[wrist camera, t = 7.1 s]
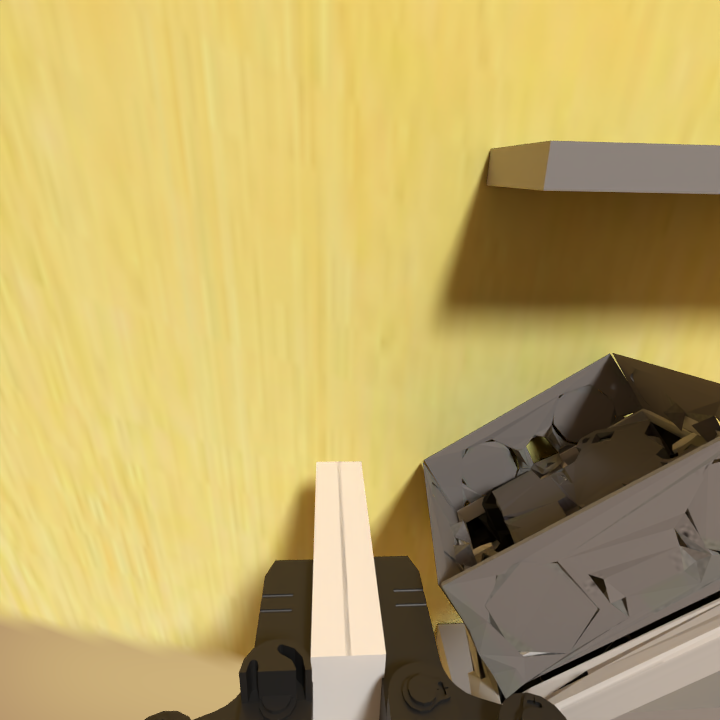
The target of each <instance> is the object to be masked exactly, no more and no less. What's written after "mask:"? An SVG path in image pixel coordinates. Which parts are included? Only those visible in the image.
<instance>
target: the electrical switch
mask: <svg viewBox="0 0 720 720" xmlns="http://www.w3.org/2000/svg"><path fill="white" fill-rule="evenodd" d="M613 355H614V357H615V359H616V361H617V362H618V364H619V366H620V368H621V370H622V372H623V373H624V375H625V376H624V375H623V373H622V372H621V370H620V369H619V367H618V365H617V364H616V362H615V361H614V359H613V358H612V356H611V355H610V354H608V355H607V356H605V357H603V358H601V359H600V360H598V361H596V362H594V363H593V364H591V365H589V366H587V367H586V368H584V369H582V370H580V371H579V372H577V373H575V374H573V375H572V376H570V377H568V378H566V379H565V380H563V381H561V382H559V383H558V384H556V385H554V386H552V387H551V388H549V389H547V390H545V391H544V392H542V393H540V394H538V395H537V396H535V397H533V398H531V399H530V400H528V401H526V402H524V403H523V404H521V405H519V406H517V407H516V408H514V409H512V410H510V411H509V412H507V413H505V414H503V415H502V416H500V417H498V418H496V419H495V420H493V421H491V422H490V423H488V424H486V425H484V426H483V427H481V428H479V429H477V430H476V431H474V432H472V433H470V434H469V435H467V436H465V437H463V438H462V439H460V440H458V441H456V442H455V443H453V444H451V445H449V446H448V447H446V448H444V449H442V450H441V451H439V452H437V453H435V454H434V455H432V456H430V457H428V458H427V459H425V460H424V461H425V463H426V464H427V466H428V468H429V469H430V471H431V473H432V474H433V476H434V477H433V476H432V474H431V473H430V471H429V470H428V468H427V467H426V465H425V464H424V463H423V467H424V475H425V483H426V491H427V499H428V507H429V515H430V523H431V531H432V539H433V547H434V555H435V563H436V571H437V579H438V585H439V586H440V588H441V589H442V591H443V592H444V594H445V595H446V596H447V598H448V599H449V601H450V602H451V604H452V605H453V607H454V608H455V610H456V611H457V613H458V614H459V616H460V617H461V619H462V620H463V622H464V624H465V630H466V635H467V640H468V645H469V650H470V656H471V661H472V667H473V671H472V672H469V673H468V677H469V683H470V689H471V695H473V696H476V697H478V698H482V699H485V700H488V701H492V702H495V703H498V704H503V702H504V700H505V699H507V698H508V697H510V696H511V695H513V694H515V693H525V692H528V693H531V694H535V695H538V696H541V697H543V698H544V699H546V700H548V701H549V702H551V703H552V704H554V705H555V706H556V707H557V708H558V710H559V711H560V712H561V713H562V714H563V715H564V716H565V717H566V719H567V720H611V719H613V718H616V717H618V716H620V715H622V714H624V713H627V712H629V711H631V710H633V709H636V708H638V707H640V706H642V705H644V704H647V703H649V702H651V701H653V700H656V699H658V698H660V697H662V696H664V695H667V694H669V693H671V692H673V691H676V690H678V689H680V688H682V687H684V686H687V685H689V684H691V683H693V682H695V681H698V680H700V679H702V678H704V677H707V676H709V675H711V674H713V673H715V672H718V671H720V425H719V423H718V421H717V419H718V420H719V421H720V384H719V383H716V382H712V381H709V380H705V379H702V378H698V377H695V376H691V375H688V374H684V373H681V372H677V371H674V370H670V369H667V368H663V367H660V366H656V365H653V364H649V363H646V362H642V361H639V360H635V359H632V358H629V357H625V356H622V355H618V354H615V353H613ZM625 377H626V378H625ZM599 390H600V391H601V392H600V391H599ZM562 394H563V395H562ZM559 395H562V396H561V397H560V398H559ZM631 413H633V414H631ZM628 414H631V415H630V416H628V417H626V418H624V417H623V416H625V415H628ZM615 415H616V417H615ZM553 417H554V425H555V426H556V428H557V429H558V430H559V431H560V432H561V433H562V435H563V436H564V437H565V438H566V439H567V441H570V442H578V444H577V445H575V444H571V443H568V442H565V441H564V440H563V439H562V438H561V437H560V436H559V435H558V434H557V433H556V432H555V430H554V428H553V427H552V421H553ZM716 418H717V419H716ZM537 436H544V437H545V438H546V439H547V440H548V441H549V442H550V443H551V445H552V446H553V447H554V448H555V449H556V450H557V452H558V453H557V454H555V455H553V456H550V457H548V458H546V459H543V460H541V461H539V462H536V463H533V461H532V459H531V456H530V454H529V452H528V450H527V447H526V446H527V444H528V443H529V442H530V440H531V439H532V438H534V437H537ZM491 439H492V440H495V441H494V442H486V441H489V440H491ZM503 444H504V445H503ZM505 445H506V446H508V447H510V448H511V449H512V450H513V451H514V453H515V454H516V456H517V460H518V464H519V470H518V472H517V473H516V471H517V467H516V465H515V463H514V460H513V458H512V456H511V453H510V451H509V449H508V448H507V447H506V446H505ZM560 448H561V449H560ZM466 449H468V450H467V452H466V453H465V451H466ZM464 454H465V455H464ZM434 478H435V479H436V480H435V479H434ZM462 479H463V480H464V482H465V483H466V485H465V484H463V483H462ZM436 481H437V482H436ZM438 484H439V485H438ZM483 495H485V496H483ZM466 500H468V501H469V502H470V503H471V504H469V505H467V506H464V504H465V502H466Z"/></svg>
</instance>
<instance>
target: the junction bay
mask: <svg viewBox="0 0 720 720" xmlns="http://www.w3.org/2000/svg"><path fill="white" fill-rule="evenodd" d="M487 186H498V187H509V188H521V189H532V190H543V191H592V192H641V193H689V194H720V146H717V145H681V144H646V143H610V142H575V141H546V142H538V143H531V144H524V145H516V146H509V147H501V148H494V149H491V151H490V160H489V169H488V178H487ZM436 642H437V647H438V651H439V655H440V659H441V664H442V667H443V669H444V671H445V672H446V674H447V676H448V677H449V679H450V680H451V681H452V682H453V683H454V684H455V685H456V686H457V687H459V688H460V689H462V690H463V691H465V692H466V693H468V694H471V689H470V683H469V677H468V673H469V672H472V671H473V667H472V661H471V656H470V650H469V645H468V640H467V635H466V630H465V624H464V623H459V624H438V628H437V637H436ZM611 720H720V671H718V672H715V673H713V674H711V675H709V676H707V677H704V678H702V679H700V680H698V681H695V682H693V683H691V684H689V685H687V686H684V687H682V688H680V689H678V690H676V691H673V692H671V693H669V694H667V695H664V696H662V697H660V698H658V699H656V700H653V701H651V702H649V703H647V704H644V705H642V706H640V707H638V708H636V709H633V710H631V711H629V712H627V713H624V714H622V715H620V716H618V717H616V718H613V719H611Z"/></svg>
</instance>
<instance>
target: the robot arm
mask: <svg viewBox="0 0 720 720" xmlns="http://www.w3.org/2000/svg"><path fill="white" fill-rule="evenodd" d="M239 678H240V690H241V692H240V694H239V695H238V696H237V697H236V698H235V699H234V700H233V701H232V702H230V703H229V704H228V705H226V706H225V707H223V708H221V709H219V710H217V711H215V712H212V713H210V714H207V715H204V716H202V717H199V718H197V719H194V720H567V719H566V717H565V716H564V715H563V714H562V713H561V712H560V711H559V710H558V708H557V707H556V706H555V705H554V704H552V703H551V702H549V701H548V700H546V699H544V698H543V697H541V696H538V695H535V694H531V693H528V692H525V693H515V694H513V695H511V696H510V697H508V698H507V699H505V700H504V702H503V704H498V703H495V702H492V701H488V700H485V699H482V698H478V697H476V696H473V695H471V694H468V693H466V692H465V691H463V690H462V689H460V688H459V687H457V686H456V685H455V684H454V683H453V682H452V681H451V680H450V679H449V677H448V676H447V674H446V672H445V671H444V669H443V667H442V664H441V661H440V657H439V653H438V649H437V645H436V641H435V637H434V632H433V628H432V624H431V620H430V616H429V611H428V607H427V605H426V599H425V595H424V592H423V586H422V582H421V578H420V574H419V571H418V569H417V568H416V567H415V565H414V564H413V563H412V561H411V560H410V559H409V558H408V556H390V557H373V549H372V542H371V534H370V526H369V518H368V511H367V503H366V495H365V487H364V480H363V472H362V464H361V462H316V493H315V527H314V560H279V561H275V562H274V564H273V565H272V567H271V568H270V570H269V571H268V573H267V574H266V576H265V581H264V587H263V594H262V601H261V607H260V614H259V621H258V628H257V634H256V641H255V648H253V650H252V651H251V652H250V653H249V654H248V655H247V657H246V658H245V659H244V661H243V663H242V666H241V669H240V671H239ZM145 720H191V719H190V718H189V717H188V716H186V715H184V714H182V713H180V712H178V711H163V712H160V713H157V714H155V715H152V716H149V717H148V718H146V719H145Z"/></svg>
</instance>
